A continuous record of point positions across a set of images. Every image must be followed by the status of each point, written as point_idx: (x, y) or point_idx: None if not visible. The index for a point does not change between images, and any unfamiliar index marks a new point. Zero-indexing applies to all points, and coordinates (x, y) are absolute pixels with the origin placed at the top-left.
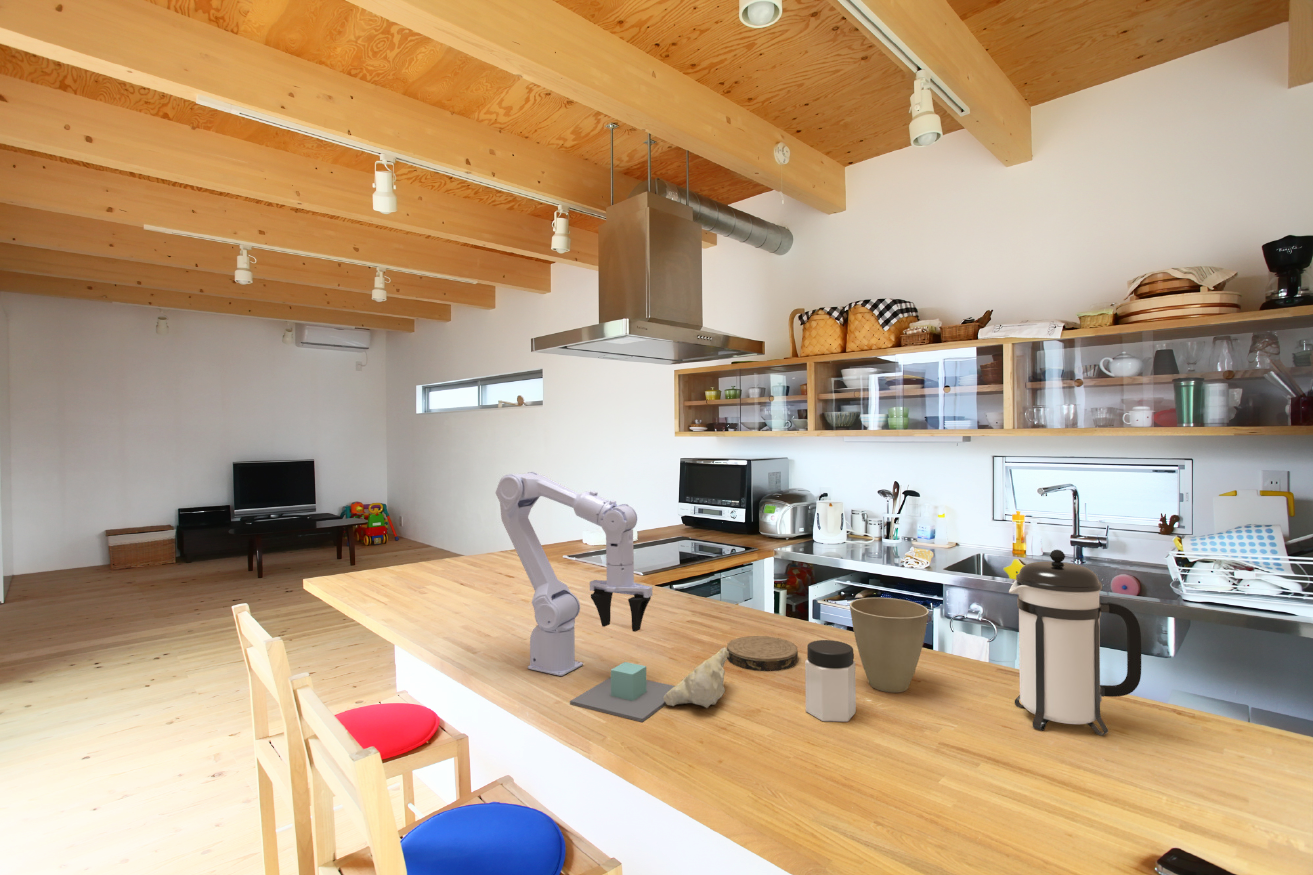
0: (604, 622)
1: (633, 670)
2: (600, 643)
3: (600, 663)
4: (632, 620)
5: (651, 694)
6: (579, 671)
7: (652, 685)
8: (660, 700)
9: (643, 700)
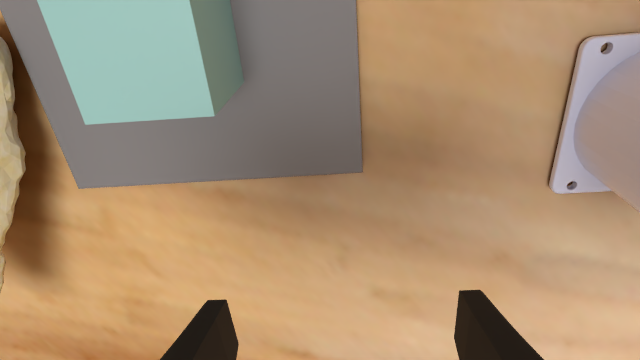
0: (468, 314)
1: (77, 32)
2: (587, 357)
3: (492, 232)
4: (184, 357)
5: None
6: (530, 132)
7: (173, 149)
8: (39, 48)
9: None
